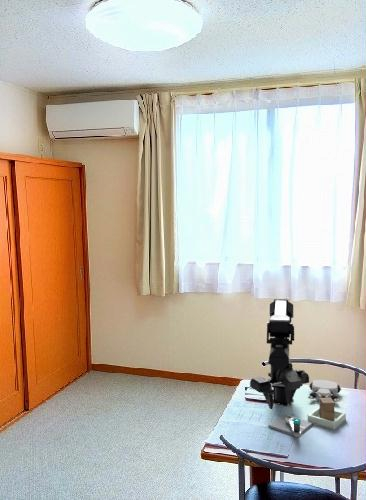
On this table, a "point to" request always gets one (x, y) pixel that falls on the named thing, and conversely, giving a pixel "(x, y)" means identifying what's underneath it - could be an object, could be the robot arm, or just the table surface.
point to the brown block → (327, 409)
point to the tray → (338, 420)
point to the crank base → (283, 427)
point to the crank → (294, 425)
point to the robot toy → (324, 390)
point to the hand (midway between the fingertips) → (280, 406)
